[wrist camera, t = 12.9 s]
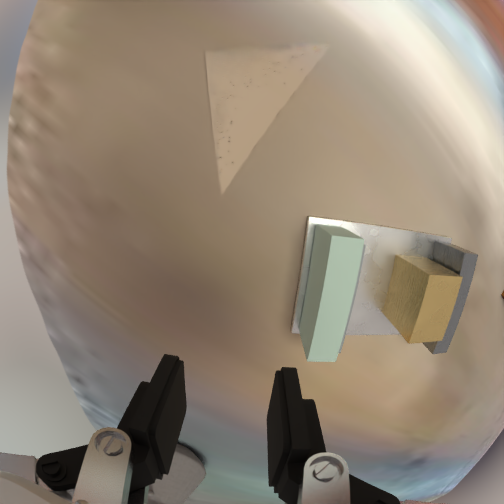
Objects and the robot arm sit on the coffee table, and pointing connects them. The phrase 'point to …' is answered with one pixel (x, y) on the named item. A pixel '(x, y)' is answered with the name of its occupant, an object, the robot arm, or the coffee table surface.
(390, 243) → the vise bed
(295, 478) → the robot arm
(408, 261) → the brass block
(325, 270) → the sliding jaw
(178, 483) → the coffee pot
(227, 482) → the coffee table surface
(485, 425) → the coffee table surface
